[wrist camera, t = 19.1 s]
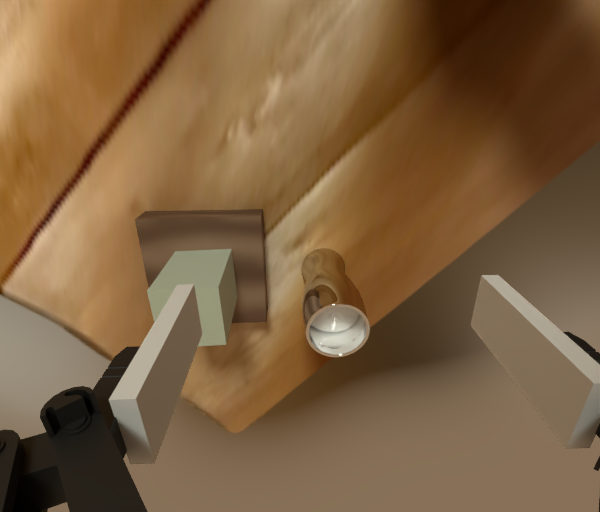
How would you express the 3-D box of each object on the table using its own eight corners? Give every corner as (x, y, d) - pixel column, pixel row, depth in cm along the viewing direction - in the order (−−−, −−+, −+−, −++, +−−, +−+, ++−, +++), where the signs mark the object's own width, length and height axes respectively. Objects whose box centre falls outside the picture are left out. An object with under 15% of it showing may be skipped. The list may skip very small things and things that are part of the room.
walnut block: (147, 210, 46) (135, 219, 42) (262, 208, 46) (261, 217, 43) (165, 309, 52) (156, 324, 48) (267, 306, 52) (266, 321, 49)
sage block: (175, 251, 44) (147, 291, 35) (231, 248, 44) (218, 287, 35) (184, 299, 47) (160, 348, 38) (237, 297, 47) (226, 344, 38)
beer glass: (312, 237, 48) (323, 292, 34) (356, 257, 49) (384, 317, 35) (290, 278, 50) (292, 345, 36) (333, 296, 52) (350, 367, 38)
